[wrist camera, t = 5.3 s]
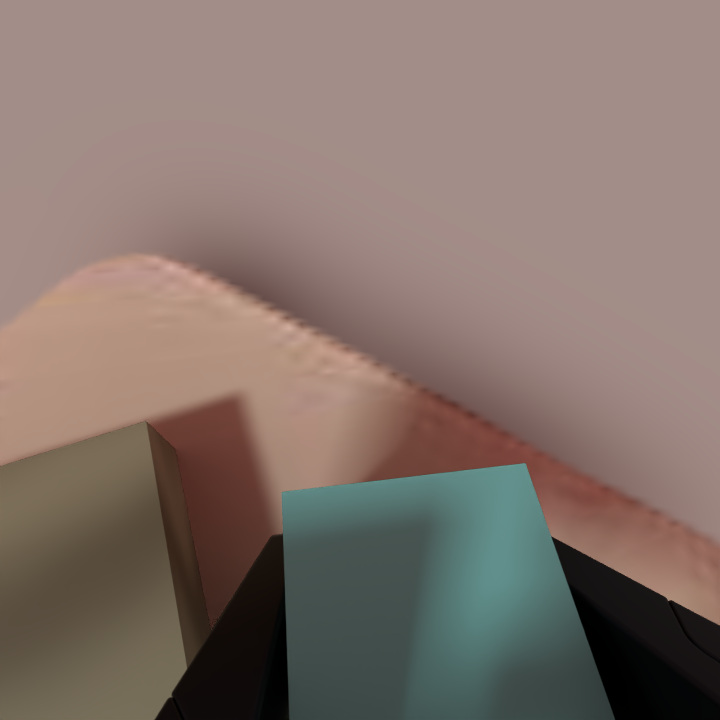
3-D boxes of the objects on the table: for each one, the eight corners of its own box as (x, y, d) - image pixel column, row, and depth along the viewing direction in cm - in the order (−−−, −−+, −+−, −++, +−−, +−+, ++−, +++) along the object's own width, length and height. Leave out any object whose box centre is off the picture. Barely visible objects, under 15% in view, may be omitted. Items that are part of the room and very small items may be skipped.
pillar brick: (425, 657, 13) (646, 807, 4) (307, 680, 12) (296, 908, 4) (402, 531, 15) (525, 462, 6) (300, 545, 14) (282, 491, 6)
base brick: (229, 711, 12) (201, 754, 9) (-133, 907, 10) (-338, 1057, 7) (177, 451, 16) (146, 421, 13) (-91, 541, 13) (-208, 530, 10)
